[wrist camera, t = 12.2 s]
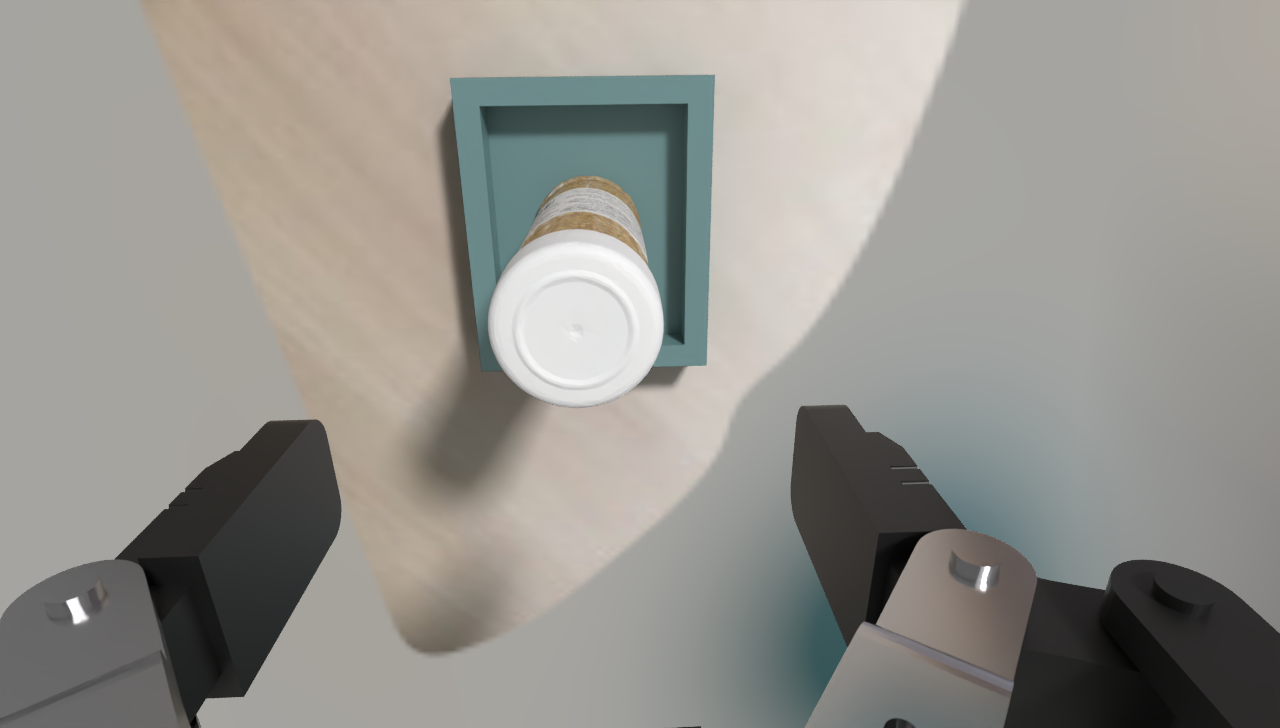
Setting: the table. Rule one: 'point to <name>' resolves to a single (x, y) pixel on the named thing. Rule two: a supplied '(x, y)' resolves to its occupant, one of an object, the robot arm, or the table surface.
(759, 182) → the table surface
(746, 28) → the table surface
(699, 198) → the tray
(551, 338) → the sprinkles bottle
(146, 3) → the table surface
